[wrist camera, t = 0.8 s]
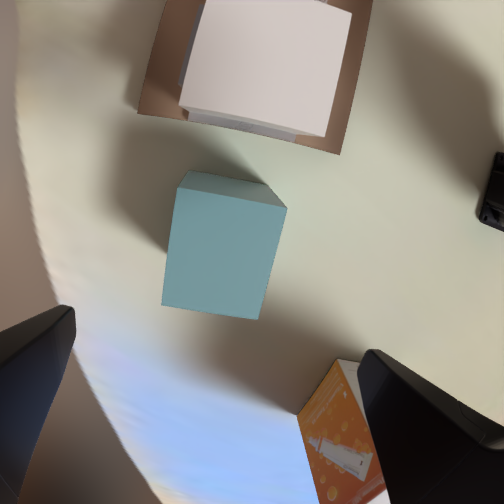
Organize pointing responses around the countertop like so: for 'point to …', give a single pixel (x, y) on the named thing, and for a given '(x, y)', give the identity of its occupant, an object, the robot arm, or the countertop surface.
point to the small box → (341, 441)
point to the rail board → (167, 105)
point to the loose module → (221, 245)
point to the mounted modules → (265, 62)
